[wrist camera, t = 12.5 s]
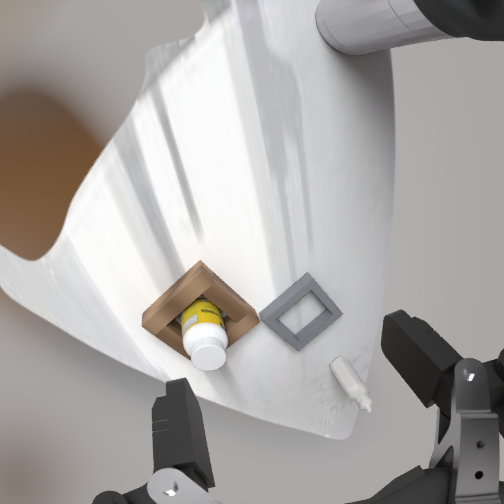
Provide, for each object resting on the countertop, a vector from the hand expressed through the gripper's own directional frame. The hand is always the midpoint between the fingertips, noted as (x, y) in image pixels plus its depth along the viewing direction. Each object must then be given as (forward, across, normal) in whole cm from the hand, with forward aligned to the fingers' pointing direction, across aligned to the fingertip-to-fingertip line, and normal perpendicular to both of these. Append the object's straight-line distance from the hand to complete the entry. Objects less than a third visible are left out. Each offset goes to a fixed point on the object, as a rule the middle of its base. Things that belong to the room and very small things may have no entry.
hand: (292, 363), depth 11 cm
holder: (+28, -9, +20) cm, 35 cm away
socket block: (+28, +5, +16) cm, 32 cm away
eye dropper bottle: (+28, -16, +36) cm, 48 cm away
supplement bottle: (+28, +5, +16) cm, 32 cm away
